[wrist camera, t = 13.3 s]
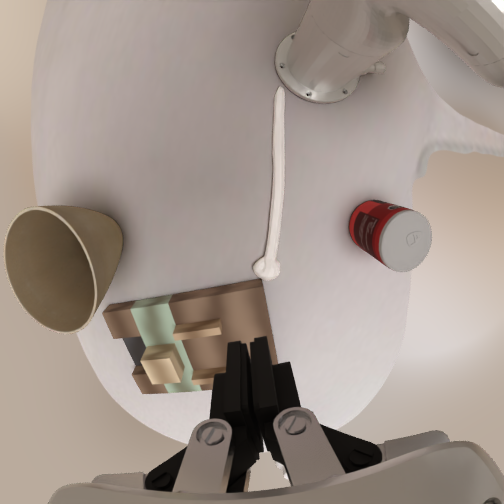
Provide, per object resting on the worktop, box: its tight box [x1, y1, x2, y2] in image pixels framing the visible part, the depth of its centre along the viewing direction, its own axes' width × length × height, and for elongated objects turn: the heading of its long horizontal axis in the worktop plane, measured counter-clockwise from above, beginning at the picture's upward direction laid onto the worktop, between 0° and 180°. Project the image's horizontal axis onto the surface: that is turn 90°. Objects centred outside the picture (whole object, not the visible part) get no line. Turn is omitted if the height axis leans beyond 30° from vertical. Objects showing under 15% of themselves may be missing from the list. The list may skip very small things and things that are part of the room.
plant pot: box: [4, 206, 123, 334], centre depth 31 cm, size 15×15×16 cm
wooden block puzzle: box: [102, 279, 278, 394], centre depth 41 cm, size 26×18×6 cm
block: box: [140, 343, 185, 384], centre depth 40 cm, size 5×5×4 cm
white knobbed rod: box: [253, 87, 285, 281], centre depth 36 cm, size 28×4×3 cm, turn 178°
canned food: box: [349, 200, 432, 272], centre depth 34 cm, size 8×8×11 cm
